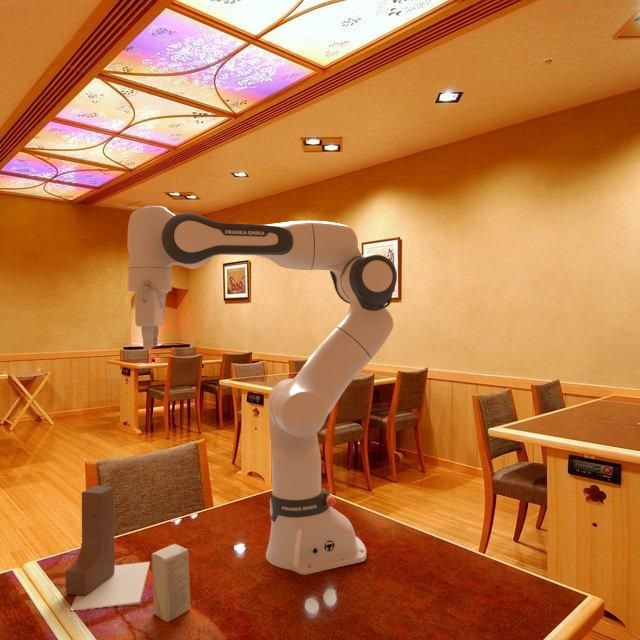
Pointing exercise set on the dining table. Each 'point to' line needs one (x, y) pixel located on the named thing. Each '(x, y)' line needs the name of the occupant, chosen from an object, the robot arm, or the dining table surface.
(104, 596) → the mat
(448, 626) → the dining table surface
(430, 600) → the dining table surface
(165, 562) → the box
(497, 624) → the dining table surface
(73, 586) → the wooden block
